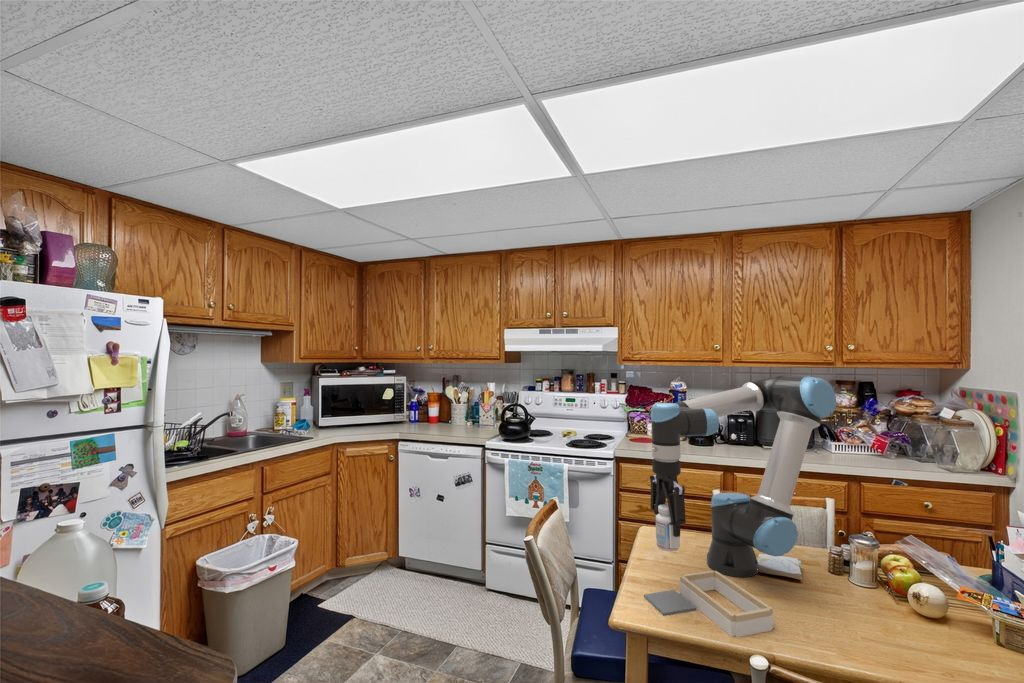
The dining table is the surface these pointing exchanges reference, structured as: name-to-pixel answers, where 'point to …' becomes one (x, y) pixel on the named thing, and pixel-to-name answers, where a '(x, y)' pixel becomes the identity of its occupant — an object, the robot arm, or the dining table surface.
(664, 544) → the pill bottle
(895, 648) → the dining table surface
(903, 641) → the dining table surface
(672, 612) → the coaster
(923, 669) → the dining table surface
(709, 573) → the beige frame
